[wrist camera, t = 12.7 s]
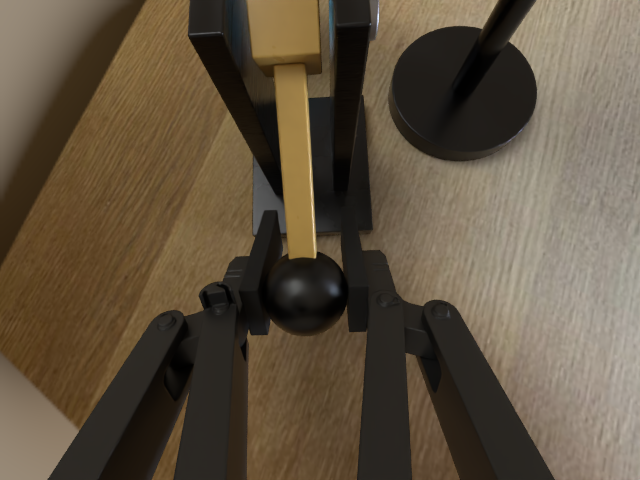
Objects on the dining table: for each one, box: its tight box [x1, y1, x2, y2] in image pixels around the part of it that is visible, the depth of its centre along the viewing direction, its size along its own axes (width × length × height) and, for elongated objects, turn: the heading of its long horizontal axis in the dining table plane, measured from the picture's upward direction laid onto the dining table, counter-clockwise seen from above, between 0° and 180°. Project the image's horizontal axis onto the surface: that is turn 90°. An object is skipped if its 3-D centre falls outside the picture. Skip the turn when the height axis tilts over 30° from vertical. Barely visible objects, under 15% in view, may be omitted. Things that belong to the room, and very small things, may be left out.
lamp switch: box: [246, 0, 348, 336], centre depth 12 cm, size 13×4×4 cm, turn 2°
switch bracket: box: [188, 0, 379, 238], centre depth 15 cm, size 10×8×14 cm
